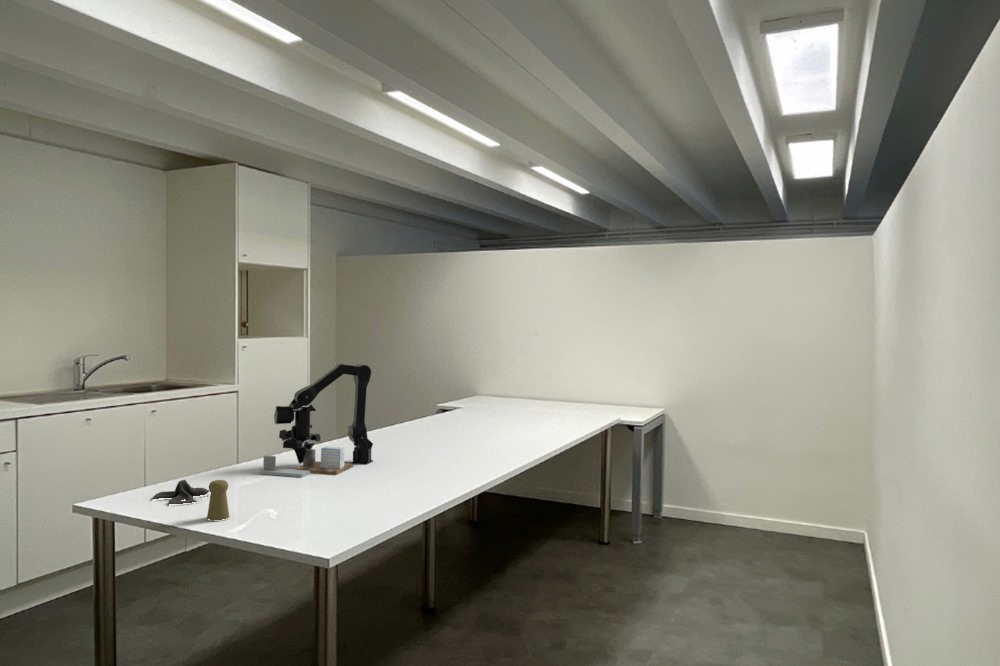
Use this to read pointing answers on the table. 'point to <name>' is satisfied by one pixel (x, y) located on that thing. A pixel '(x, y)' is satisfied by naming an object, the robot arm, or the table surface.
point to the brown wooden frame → (318, 464)
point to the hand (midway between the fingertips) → (301, 462)
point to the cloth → (182, 493)
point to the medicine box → (332, 458)
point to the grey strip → (272, 470)
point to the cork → (218, 500)
